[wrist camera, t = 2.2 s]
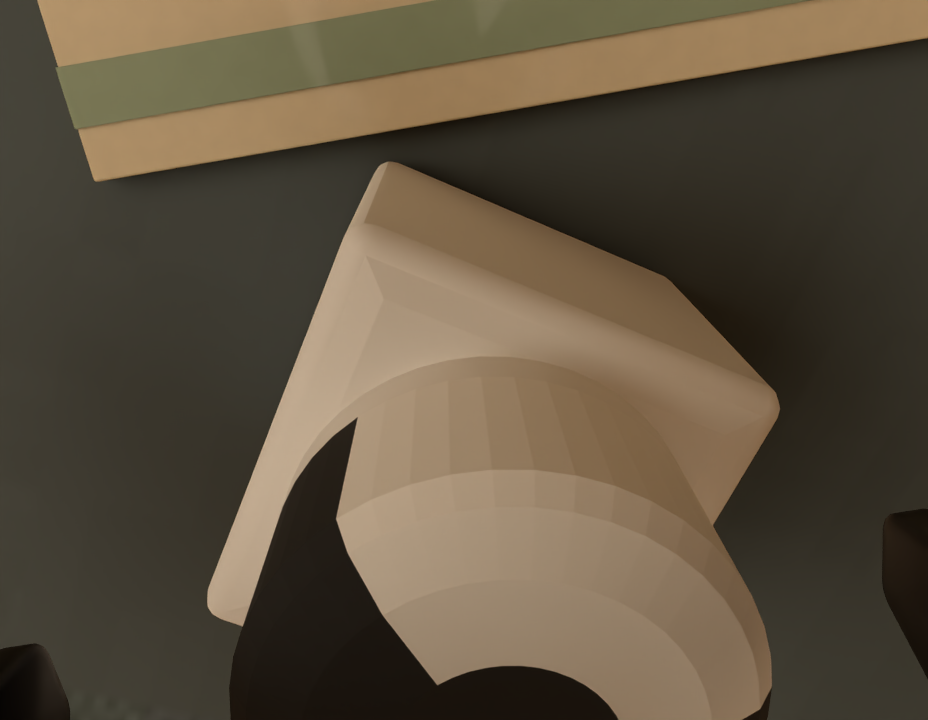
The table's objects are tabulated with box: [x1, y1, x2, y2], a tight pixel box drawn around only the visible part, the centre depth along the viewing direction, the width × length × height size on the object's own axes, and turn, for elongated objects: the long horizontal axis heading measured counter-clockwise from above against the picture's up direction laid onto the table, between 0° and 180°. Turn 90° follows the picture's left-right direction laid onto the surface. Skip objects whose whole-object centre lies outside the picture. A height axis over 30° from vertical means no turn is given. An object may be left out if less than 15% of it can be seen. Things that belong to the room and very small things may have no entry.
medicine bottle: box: [207, 161, 780, 720], centre depth 14 cm, size 7×7×12 cm
